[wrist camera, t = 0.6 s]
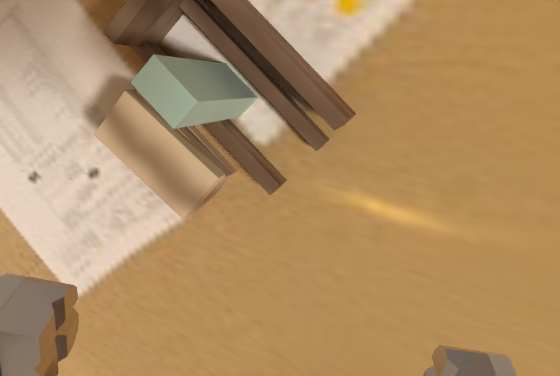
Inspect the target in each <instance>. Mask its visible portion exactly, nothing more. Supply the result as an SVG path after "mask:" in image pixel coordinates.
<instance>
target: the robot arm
mask: <svg viewBox="0 0 560 376" xmlns="http://www.w3.org/2000/svg"><path fill="white" fill-rule="evenodd" d="M77 299H78V295H77V287H76V286H74V285H71V284H65V283H60V282H55V281H49V280H44V279H39V278H34V277H25V276H20V275H15V274H10V273H5V274H3V275H1V276H0V376H57V375H58V362H59V361H61V360H62V359H64V358H66V357H67V356H68V354H69V352H70V350H71V348H72V346H73V344H74V341H75V338H76V335H77V330H78V323H79V318H78V313H77V312H76V310H75V309H74V308H73V306H74V305H75V303H76V301H77ZM432 359H433V363H434V365H433V366H432V367H430V368H428V369H427V370H425V373H424V375H423V376H517V374H516V372H515V370H514V367H513V365H512V363H511V361H510V359H509V358H508V357H507V356H506V355H503V354H496V353H489V352H481V351H476V350H469V349H463V348H456V347H450V346H443V345H439V346H438V347H437V348H436V349H435V351H434V353H433V355H432Z"/></svg>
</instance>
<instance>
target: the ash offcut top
mask: <svg viewBox="0 0 560 376" xmlns="http://www.w3.org/2000/svg"><path fill="white" fill-rule="evenodd" d="M94 135H95V136H96V137H97V138H98V139H99V140H100V141H101V142H102V143H103V144H104V145H105V146H106V147H107V148H109V149H110V150H111V151H112V152H113V153H114V154H115V155H116V156H117V157H118V158H119V159H120V160H121V161H122V162H123V163H124V164H125V165H126V166H127V167H128V168H130V169H131V170H132V171H133V172H134V173H135V174H136V175H137V176H138V177H139V178H140V179H141V180H142V181H143V182H144V183H145V184H146V185H147V186H148V187H150V188H151V189H152V190H153V191H154V192H155V193H156V194H157V195H158V196H159V197H160V198H161V199H162V200H163V201H164V202H165V203H166V204H167V205H168V206H169V207H171V208H172V209H173V210H174V211H175V212H176V213H177V214H178V215H179V216H180V217H181V218H182V219H185V218H187V217H189V216H190V215H192V214H193V213H194V212H195V210H196V209H197V208H198V207H199V206H200V205H201V203H202V202H203V201H204V200H205V199H206V197H207V196H208V195H209V194H210V193H211V192H212V190H213V189H214V188H215V187H216V186H217V184H218V183H219V182H220V181H221V180H222V178H223V177H224V176H225V175H226V174H225V173H224V172H223V171H222V170H221V169H220V168H218V167H217V166H216V165H215V164H214V163H213V162H212V161H211V160H210V159H209V158H208V157H207V156H206V155H205V154H204V153H203V152H201V151H200V150H199V149H198V148H197V147H196V146H195V145H194V144H193V143H192V142H191V141H190V140H189V139H188V138H187V137H185V136H184V135H183V134H182V133H181V132H180V131H179V130H178V129H177V128H176V129H173V128H172V127H171V126H170V125H169V124H168V123H167V122H166V120H165V119H164V118H163V117H162V116H161V115H160V114H159V113H158V112H157V111H156V110H155V109H154V108H153V107H152V106H151V104H150V103H149V102H148V101H147V100H146V99H145V98H144V97H143V96H142V95H141V94H140V93H138V92H137V91H136V90H125V91H124V92H123V94H122V95H121V97H120V98H119V100H118V101H117V102H116V104H115V105H114V107H113V108H112V109H111V111H110V112H109V114H108V115H107V116H106V118H105V119H104V121H103V122H102V123H101V125H100V126H99V128H98V129H97V130H96V132H95V133H94Z"/></svg>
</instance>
